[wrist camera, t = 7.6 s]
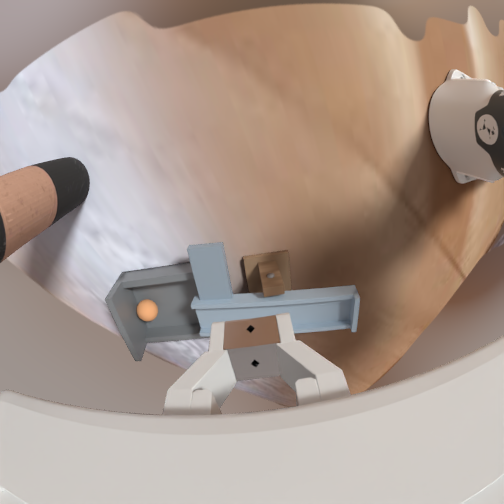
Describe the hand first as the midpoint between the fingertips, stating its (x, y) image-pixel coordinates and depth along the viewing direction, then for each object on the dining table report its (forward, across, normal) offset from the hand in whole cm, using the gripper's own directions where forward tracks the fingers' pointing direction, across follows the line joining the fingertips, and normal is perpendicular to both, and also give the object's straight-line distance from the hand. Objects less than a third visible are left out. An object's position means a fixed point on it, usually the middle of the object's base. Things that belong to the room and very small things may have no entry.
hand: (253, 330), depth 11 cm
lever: (+20, -2, +11) cm, 23 cm away
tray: (+25, +14, +14) cm, 32 cm away
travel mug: (+25, +23, -6) cm, 35 cm away
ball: (+22, +16, +14) cm, 31 cm away
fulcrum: (+25, -1, +15) cm, 29 cm away
